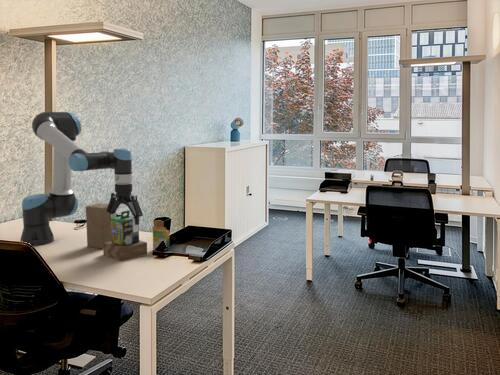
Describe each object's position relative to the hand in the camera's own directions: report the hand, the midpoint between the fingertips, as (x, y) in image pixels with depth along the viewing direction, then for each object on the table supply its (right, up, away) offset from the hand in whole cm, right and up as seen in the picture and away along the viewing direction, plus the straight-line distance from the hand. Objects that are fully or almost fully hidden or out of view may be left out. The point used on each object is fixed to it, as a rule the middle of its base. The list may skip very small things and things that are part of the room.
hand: (124, 229), depth 207 cm
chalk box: (0, -6, +1) cm, 6 cm away
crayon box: (+15, -11, +9) cm, 20 cm away
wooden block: (-15, -9, +16) cm, 24 cm away
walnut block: (0, -12, +2) cm, 12 cm away
